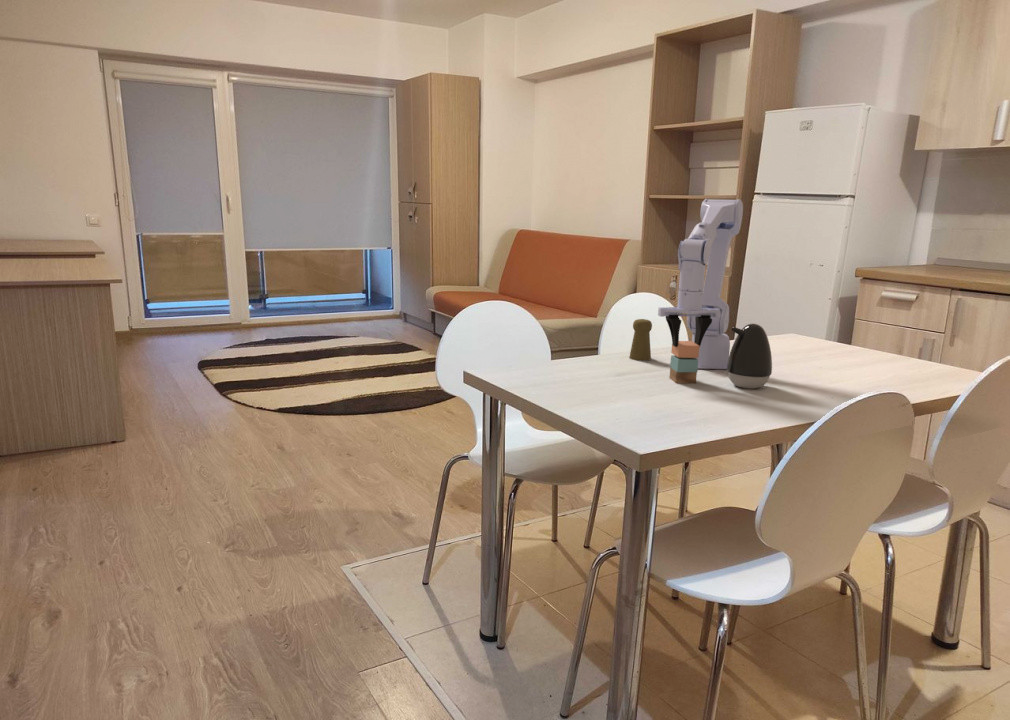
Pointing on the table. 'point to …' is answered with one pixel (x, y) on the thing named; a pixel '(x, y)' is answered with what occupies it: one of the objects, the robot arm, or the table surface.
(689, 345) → the orange block
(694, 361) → the teal slab
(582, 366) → the table surface
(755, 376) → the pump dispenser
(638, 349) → the olive upright rounded piece
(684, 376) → the walnut slab
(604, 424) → the table surface
